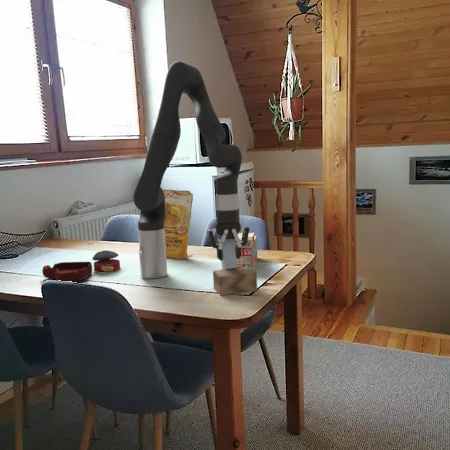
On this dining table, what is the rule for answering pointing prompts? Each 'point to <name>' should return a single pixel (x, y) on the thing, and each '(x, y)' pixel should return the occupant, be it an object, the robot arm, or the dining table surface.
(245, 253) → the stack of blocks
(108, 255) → the canned food
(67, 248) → the dining table surface
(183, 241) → the pancake mix bag
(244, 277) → the step
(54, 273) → the ashtray
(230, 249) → the block
